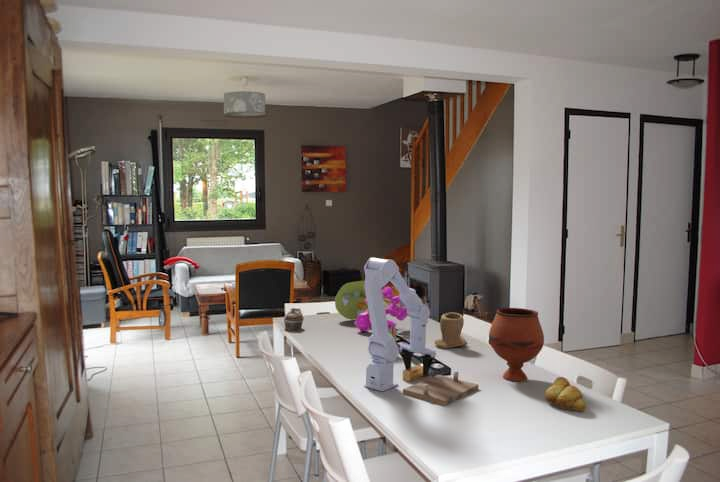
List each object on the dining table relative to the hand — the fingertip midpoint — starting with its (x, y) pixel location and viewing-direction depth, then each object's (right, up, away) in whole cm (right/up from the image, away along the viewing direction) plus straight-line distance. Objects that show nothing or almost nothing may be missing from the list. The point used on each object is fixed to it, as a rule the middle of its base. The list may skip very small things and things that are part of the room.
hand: (416, 372), depth 203 cm
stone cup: (+20, +1, +45) cm, 49 cm away
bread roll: (+44, -5, -27) cm, 52 cm away
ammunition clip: (-11, 0, +26) cm, 28 cm away
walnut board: (+7, -3, -15) cm, 17 cm away
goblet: (+36, -2, +1) cm, 36 cm away
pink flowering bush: (-14, +4, +81) cm, 83 cm away
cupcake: (-53, +4, +72) cm, 90 cm away
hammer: (0, -2, 0) cm, 2 cm away
